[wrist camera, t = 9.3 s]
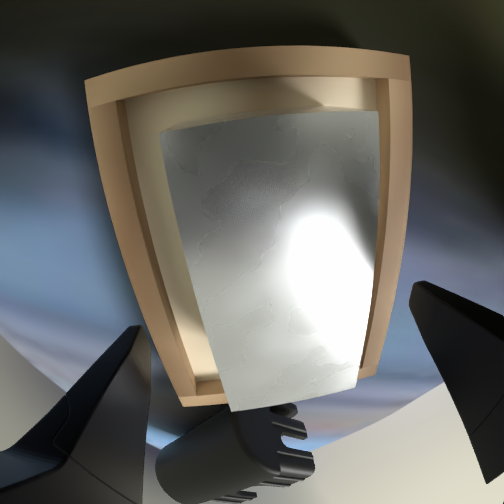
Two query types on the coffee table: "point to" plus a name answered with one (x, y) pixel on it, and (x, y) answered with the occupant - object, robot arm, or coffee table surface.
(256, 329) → the block
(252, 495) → the end cap
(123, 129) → the beech stand
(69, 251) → the coffee table surface
